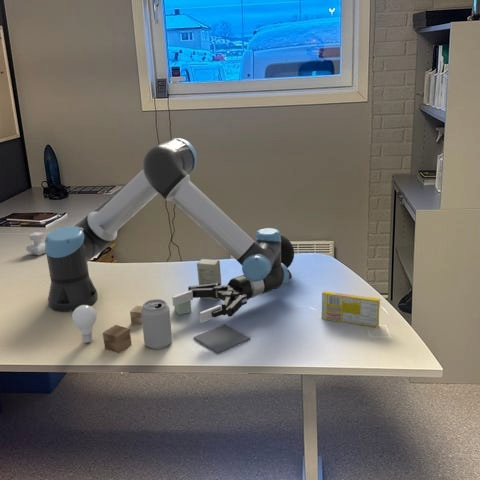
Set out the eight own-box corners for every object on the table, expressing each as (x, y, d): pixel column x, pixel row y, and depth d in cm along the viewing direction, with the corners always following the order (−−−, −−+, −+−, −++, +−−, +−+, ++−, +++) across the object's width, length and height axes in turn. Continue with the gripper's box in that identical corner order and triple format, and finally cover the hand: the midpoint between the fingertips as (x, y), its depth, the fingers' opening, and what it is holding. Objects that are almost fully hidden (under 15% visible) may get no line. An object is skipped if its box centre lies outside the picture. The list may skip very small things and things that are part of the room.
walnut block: (104, 349, 151) (102, 332, 149) (117, 340, 155) (115, 324, 153) (118, 353, 148) (116, 336, 146) (131, 345, 152) (129, 328, 150)
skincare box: (222, 295, 180) (220, 259, 176) (217, 300, 176) (215, 264, 172) (204, 293, 182) (201, 258, 178) (198, 298, 178) (196, 262, 174)
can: (167, 351, 148) (163, 310, 144) (140, 349, 149) (136, 309, 145) (175, 337, 155) (172, 298, 151) (150, 335, 156) (146, 296, 152)
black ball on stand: (302, 276, 191) (302, 235, 186) (272, 287, 184) (272, 244, 179) (277, 266, 201) (276, 226, 196) (248, 275, 194) (246, 234, 189)
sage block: (174, 309, 171) (173, 294, 170) (187, 306, 173) (185, 292, 171) (178, 315, 168) (177, 299, 166) (191, 312, 169) (190, 297, 168)
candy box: (379, 325, 158) (380, 298, 155) (377, 328, 156) (379, 301, 153) (323, 316, 164) (323, 290, 161) (321, 319, 162) (321, 293, 159)
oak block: (131, 323, 164) (129, 311, 162) (137, 317, 167) (136, 305, 166) (143, 325, 163) (142, 312, 161) (149, 319, 166) (148, 306, 165)
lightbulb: (78, 337, 157) (73, 301, 153) (101, 335, 157) (96, 300, 154) (74, 348, 151) (68, 312, 147) (98, 347, 151) (92, 310, 148)
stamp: (41, 249, 229) (38, 229, 226) (53, 251, 226) (50, 231, 223) (24, 256, 221) (21, 236, 218) (37, 258, 218) (33, 238, 215)
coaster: (193, 338, 154) (193, 336, 154) (225, 325, 160) (225, 323, 160) (217, 354, 146) (217, 352, 146) (250, 339, 152) (250, 337, 152)
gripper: (273, 312, 160) (214, 337, 148) (220, 286, 179) (163, 307, 166) (273, 288, 158) (212, 311, 145) (219, 264, 176) (161, 283, 164)
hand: (186, 309), depth 156 cm, fingers open, 13 cm apart
